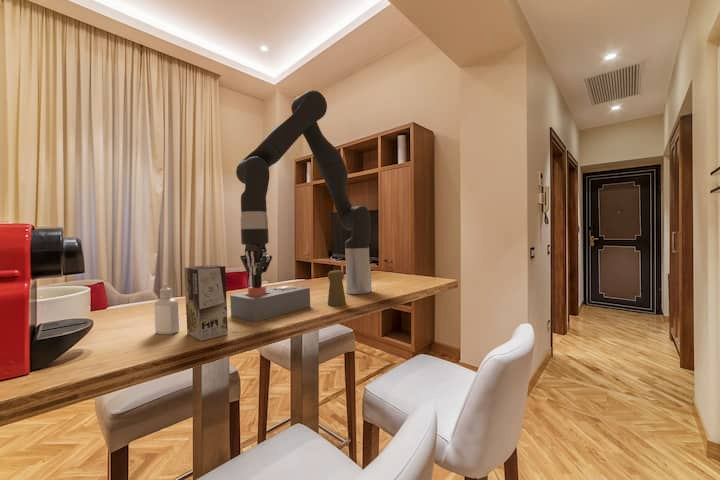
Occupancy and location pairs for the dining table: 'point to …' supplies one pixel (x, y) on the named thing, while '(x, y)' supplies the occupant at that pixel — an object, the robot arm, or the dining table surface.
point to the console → (269, 303)
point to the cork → (336, 288)
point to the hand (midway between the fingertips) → (256, 287)
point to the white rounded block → (284, 288)
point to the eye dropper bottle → (166, 313)
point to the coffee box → (206, 301)
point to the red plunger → (257, 291)
